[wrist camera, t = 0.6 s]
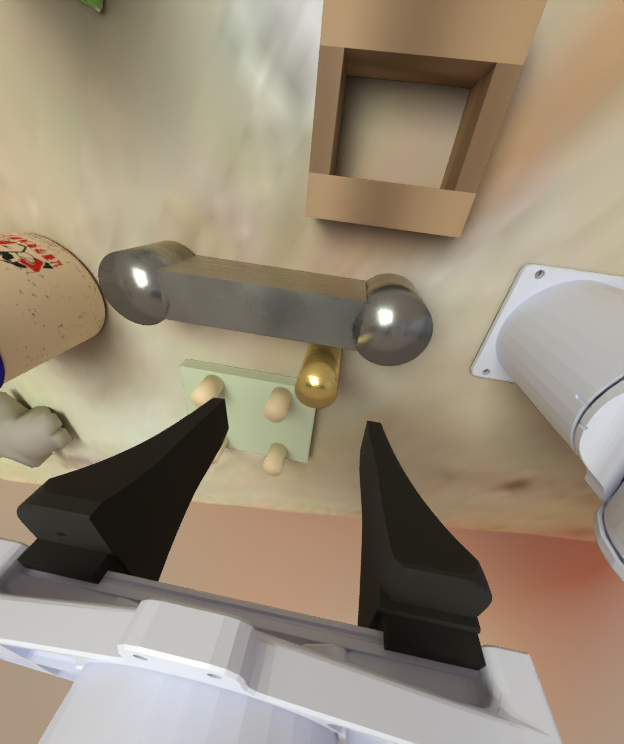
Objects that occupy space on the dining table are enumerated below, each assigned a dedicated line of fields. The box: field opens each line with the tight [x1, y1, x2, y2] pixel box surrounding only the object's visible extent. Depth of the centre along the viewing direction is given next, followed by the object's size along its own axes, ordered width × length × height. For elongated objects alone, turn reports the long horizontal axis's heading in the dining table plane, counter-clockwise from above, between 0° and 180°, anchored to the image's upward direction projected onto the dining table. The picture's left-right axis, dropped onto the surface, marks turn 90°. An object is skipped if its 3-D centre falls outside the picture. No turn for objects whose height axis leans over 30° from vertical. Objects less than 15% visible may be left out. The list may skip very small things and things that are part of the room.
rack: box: [179, 359, 316, 476], centre depth 25 cm, size 12×9×4 cm
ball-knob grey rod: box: [98, 241, 433, 366], centre depth 18 cm, size 20×4×5 cm, turn 83°
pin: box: [294, 343, 342, 409], centre depth 19 cm, size 3×3×6 cm
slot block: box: [305, 0, 547, 238], centre depth 13 cm, size 8×8×3 cm
